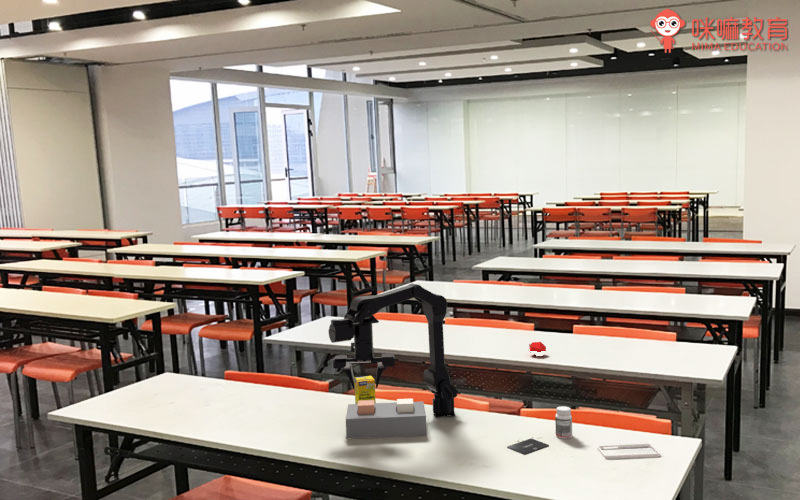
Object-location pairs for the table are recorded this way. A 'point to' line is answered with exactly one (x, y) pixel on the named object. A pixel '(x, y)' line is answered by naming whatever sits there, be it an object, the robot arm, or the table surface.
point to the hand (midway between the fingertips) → (365, 388)
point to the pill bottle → (563, 422)
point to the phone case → (628, 454)
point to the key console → (386, 421)
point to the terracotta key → (366, 407)
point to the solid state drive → (527, 446)
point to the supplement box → (364, 389)
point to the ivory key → (405, 405)
